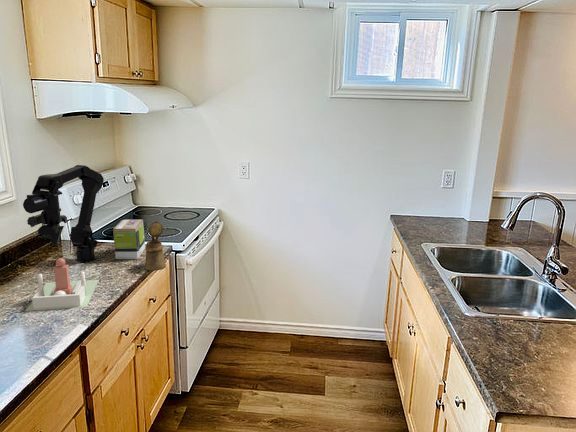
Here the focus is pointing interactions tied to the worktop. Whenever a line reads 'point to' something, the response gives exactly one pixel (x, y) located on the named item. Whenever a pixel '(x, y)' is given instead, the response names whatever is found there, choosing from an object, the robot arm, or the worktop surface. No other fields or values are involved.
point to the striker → (62, 277)
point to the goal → (58, 296)
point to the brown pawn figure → (155, 249)
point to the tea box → (129, 239)
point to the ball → (60, 293)
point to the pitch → (76, 287)
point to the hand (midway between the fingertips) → (55, 245)
